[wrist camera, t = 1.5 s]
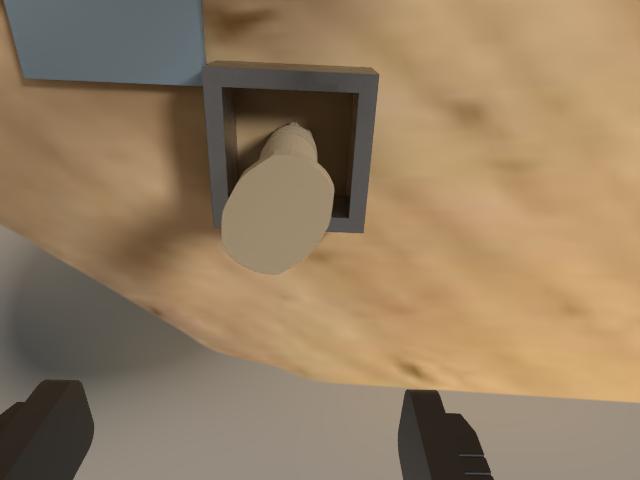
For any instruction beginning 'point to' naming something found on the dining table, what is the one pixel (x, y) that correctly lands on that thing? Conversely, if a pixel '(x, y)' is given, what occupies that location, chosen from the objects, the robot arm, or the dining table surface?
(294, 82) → the socket block
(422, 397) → the robot arm
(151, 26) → the rubber mat
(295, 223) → the handle
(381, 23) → the dining table surface
